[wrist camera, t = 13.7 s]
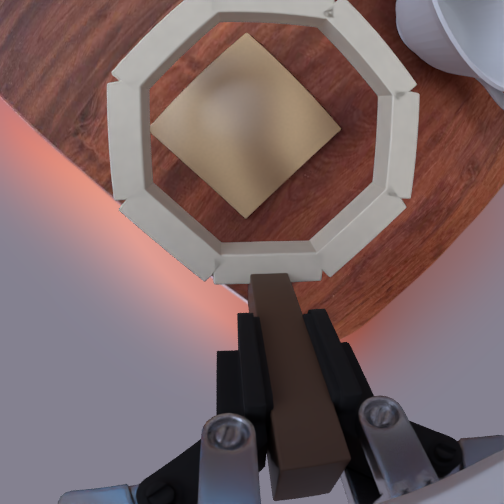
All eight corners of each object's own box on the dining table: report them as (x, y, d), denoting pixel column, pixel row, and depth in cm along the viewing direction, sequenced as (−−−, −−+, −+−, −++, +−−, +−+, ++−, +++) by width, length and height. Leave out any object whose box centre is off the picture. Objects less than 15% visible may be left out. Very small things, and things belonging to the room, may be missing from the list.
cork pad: (245, 217, 26) (245, 219, 26) (148, 129, 22) (146, 129, 22) (339, 128, 23) (341, 129, 23) (246, 33, 20) (246, 32, 19)
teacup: (430, 137, 24) (505, 156, 15) (337, 3, 19) (393, -41, 10) (491, 83, 21) (560, 90, 12) (417, -35, 16) (477, -65, 7)
